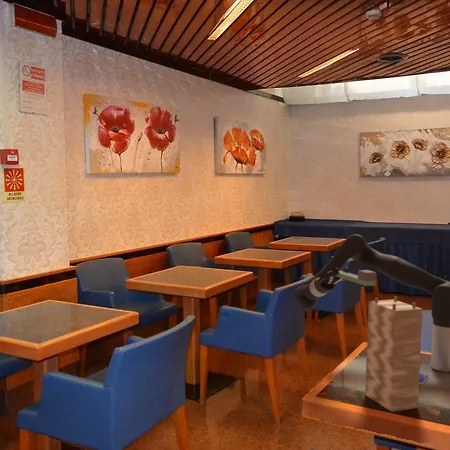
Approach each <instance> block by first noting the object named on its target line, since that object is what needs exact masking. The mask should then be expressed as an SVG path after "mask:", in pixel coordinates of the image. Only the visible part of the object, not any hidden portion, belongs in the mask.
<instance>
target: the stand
mask: <svg viewBox="0 0 450 450" xmlns="http://www.w3.org/2000/svg"><path fill="white" fill-rule="evenodd" d="M416 303H417V302H416V301H415V302H414V301H413V302H412V304H409V303H406V302H403V301H400V300H398V296H394V297H393V299H381V300H379V297H375V298H374V300H368V310H367V311H368V313H367V337H366V338H367V339H366V360H365V361H366V363H365V364H366V366H365V368H366V369H365V385H364V386H365V387H364V388H365V390H364V394H365V396H366V397H368V398H369V399H371V400H372V401H374V402H376V403H377V404H378V405H380V406H382V407H384V408H385V409H387V410H388V411H389V412H392V413H394V412H400V411H406V410H412V409H418V408H419V396H420V395H419V390H420V384H419V374H421V373H420V372H421V371H420V367H421V351H422V350H421V348H422V331H423V330H422V327H423V308H421V307H418V306H416V305H417V304H416Z"/></svg>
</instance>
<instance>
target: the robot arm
mask: <svg viewBox="0 0 450 450" xmlns="http://www.w3.org/2000/svg"><path fill="white" fill-rule="evenodd" d="M350 259H352V260H354V261H356V262H359V263H362V264H364V265H367V266H368V267H371V268H373V269H375V270H376V271H378V272H379V273H381V274H383V275H384V276H386V277H388V278H390V279H392V280H394V281H395V282H397V283H399V284H402V285H403V286H408V287H409V288H410V287H411V288H415V289H417V290H421V291H425V292H427V293H428V294H430V295H431V317H432V333H431V334H432V335H431V336H432V338H431V356H430V358H431V359H430V367H431V368H432V369H434V370H437V371H440V372H444V373H445V372H446V373H450V281H449V280H446V279H443V278H441V277H438V276H435V275H433V274H431V273H429V272H428V271H426V270H424V269H422V268H420V267H419V266H416V265H415V264H413V263H411V262H409V261H407V260H405V259H403V258H401V257H399V256H395V255H391V254H385V253H382V252H379V251H377V250H376V249H374V248H372V247H371V246H370V245H368V243H367V241H366V239H365V238H364V236H362V235H360V234H356V233H354V234H351V235H349V236H347V237H346V239H345V240H343V242H342V244H341V245H340V247H339V248H338V249H337V250H336V252H335V254H334V255H333V256H332V257H331V259H329V261H328V262H327V263H326V264H325V265H324V267H322V268H321V269H320V270H319V271H318V272H317V273H316V274H315V275H314V277H312V278H311V279H310V281H309V283H307V284H303V285H300V286H298V287H296V288H295V289H294V290H293V292H292V297H293V299H294V300H295V301H296V302H297V303H298V304H299V305H300V306H301V307H302V308H303V309H304V310H306V311H309V310H312V309H313V308H314V307H315V305H316V303H317V302H318V300H319V299H320V298H321V297H323V296H325V295H326V294H328V293H330V292H331V291H333V290H334V289H335V287H336V284H337V283H339V282H340V281H343V282H346V281H348V280H346V279H343V278H340V277H336V275H337V274H339V271H344V272H347V273H351V271H350V268H349V267H347V266H346V267H345V268H343V266H344V265H345V264H346V263H347V262H348V261H349V260H350ZM342 268H343V269H342Z"/></svg>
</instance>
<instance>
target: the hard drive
mask: <svg viewBox="0 0 450 450" xmlns="http://www.w3.org/2000/svg"><path fill="white" fill-rule="evenodd" d="M428 379H429V375H427V374H423V373H419V385H424V384H425V382H426V381H427V380H428Z"/></svg>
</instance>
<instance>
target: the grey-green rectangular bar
mask: <svg viewBox="0 0 450 450" xmlns="http://www.w3.org/2000/svg"><path fill="white" fill-rule="evenodd" d="M357 272H358V273H357V274H355V273H351V272H350V273H347V272H344V271H342V270H340V271H339V274H337V275H336V277H340V278H343V279H346V280H347V281H349V282H352V283H355V284H359V285H362V286H365V287H369V286H377V271H372V270H369V269H363V270H361V269H359V270H357Z"/></svg>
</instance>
